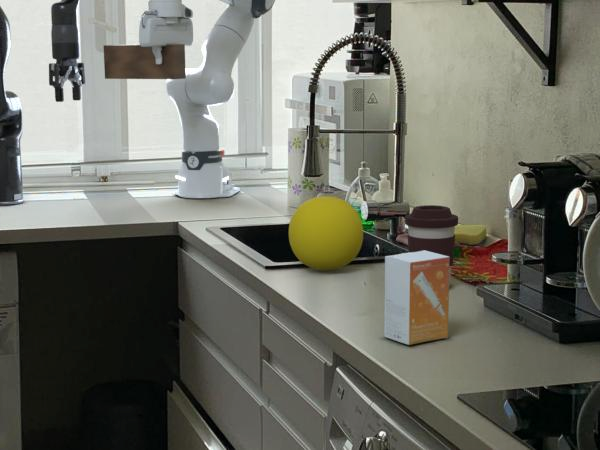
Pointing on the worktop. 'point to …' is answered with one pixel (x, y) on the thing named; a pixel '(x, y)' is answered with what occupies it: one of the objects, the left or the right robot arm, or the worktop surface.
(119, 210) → the worktop surface
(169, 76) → the bar
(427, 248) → the coffee cup
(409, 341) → the small box
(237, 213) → the worktop surface
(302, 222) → the toy
